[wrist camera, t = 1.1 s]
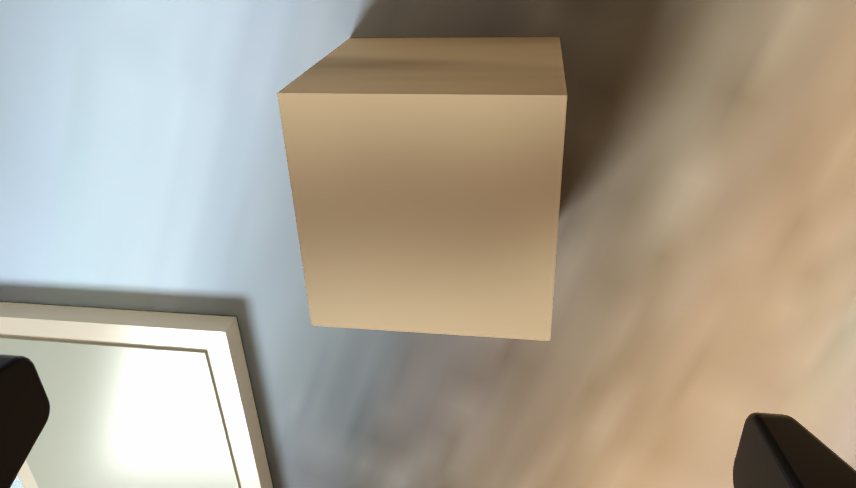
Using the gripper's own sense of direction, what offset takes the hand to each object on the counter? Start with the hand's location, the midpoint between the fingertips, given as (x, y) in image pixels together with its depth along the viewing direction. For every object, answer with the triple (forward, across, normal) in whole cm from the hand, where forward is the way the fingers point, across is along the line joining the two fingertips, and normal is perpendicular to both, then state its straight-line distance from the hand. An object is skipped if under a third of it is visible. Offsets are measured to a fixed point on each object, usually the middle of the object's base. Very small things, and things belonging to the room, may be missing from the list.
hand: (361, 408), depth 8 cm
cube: (+10, 0, 0) cm, 10 cm away
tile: (+10, +12, +11) cm, 19 cm away
